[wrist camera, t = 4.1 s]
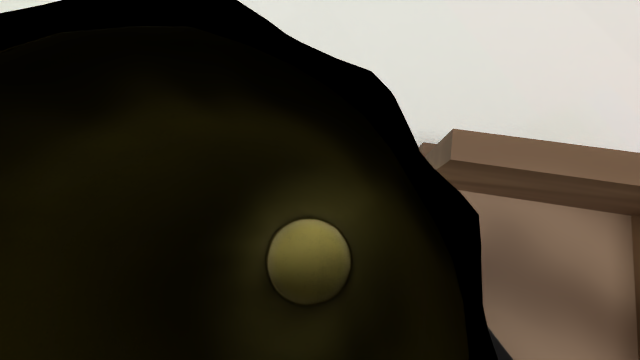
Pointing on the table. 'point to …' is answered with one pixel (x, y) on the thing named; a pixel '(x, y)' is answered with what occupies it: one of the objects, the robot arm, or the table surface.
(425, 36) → the table surface
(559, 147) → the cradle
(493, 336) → the robot arm
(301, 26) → the table surface
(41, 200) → the vase
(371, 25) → the table surface
